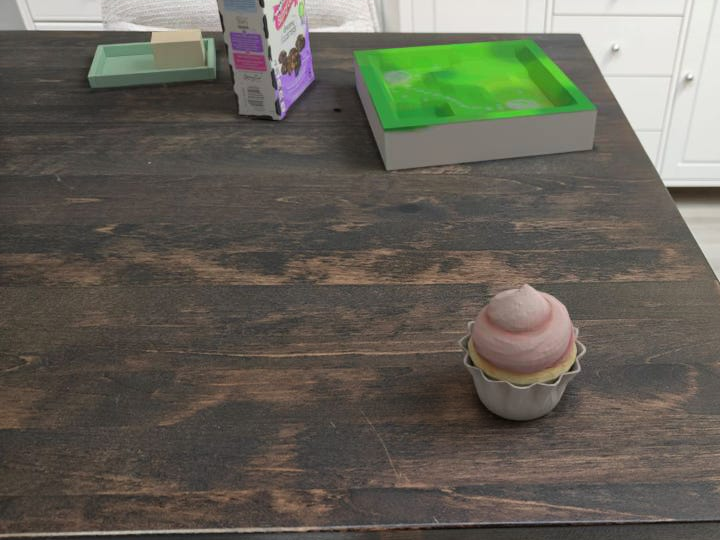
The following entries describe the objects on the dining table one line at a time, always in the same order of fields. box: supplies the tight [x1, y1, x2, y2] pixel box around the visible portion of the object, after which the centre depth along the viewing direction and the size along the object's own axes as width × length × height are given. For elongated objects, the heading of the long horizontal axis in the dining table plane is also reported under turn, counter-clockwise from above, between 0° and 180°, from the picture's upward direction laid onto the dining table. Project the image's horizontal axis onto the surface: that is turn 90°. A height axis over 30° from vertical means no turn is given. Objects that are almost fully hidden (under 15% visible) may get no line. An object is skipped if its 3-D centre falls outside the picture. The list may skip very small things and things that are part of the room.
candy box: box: [216, 0, 316, 121], centre depth 94 cm, size 14×6×16 cm, turn 171°
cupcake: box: [457, 283, 587, 421], centre depth 54 cm, size 9×9×10 cm
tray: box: [352, 38, 598, 171], centre depth 94 cm, size 25×25×5 cm
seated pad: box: [150, 28, 206, 70], centre depth 105 cm, size 6×5×4 cm
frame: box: [87, 37, 217, 89], centre depth 105 cm, size 16×13×2 cm
